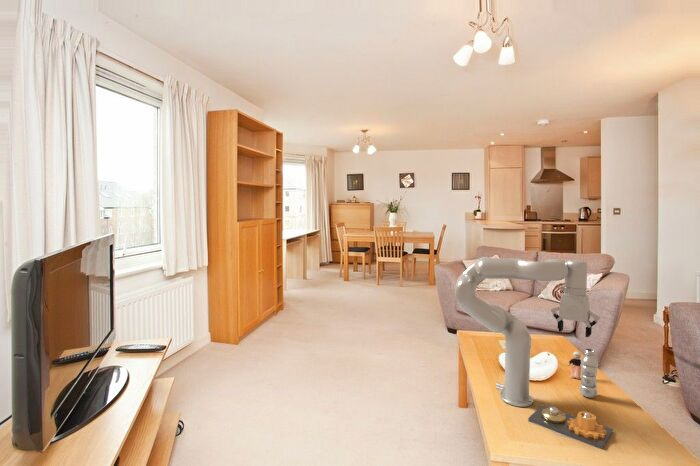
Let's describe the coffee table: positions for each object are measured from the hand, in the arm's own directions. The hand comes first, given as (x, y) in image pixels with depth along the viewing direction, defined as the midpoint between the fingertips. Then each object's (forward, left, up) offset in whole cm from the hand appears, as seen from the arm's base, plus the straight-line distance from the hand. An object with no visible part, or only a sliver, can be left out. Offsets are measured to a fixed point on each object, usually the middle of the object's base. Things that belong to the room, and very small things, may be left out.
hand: (573, 333), depth 154 cm
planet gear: (+9, -16, -29) cm, 34 cm away
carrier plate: (+4, -16, -30) cm, 34 cm away
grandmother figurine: (-7, +31, -31) cm, 44 cm away
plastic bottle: (+2, +15, -31) cm, 34 cm away
